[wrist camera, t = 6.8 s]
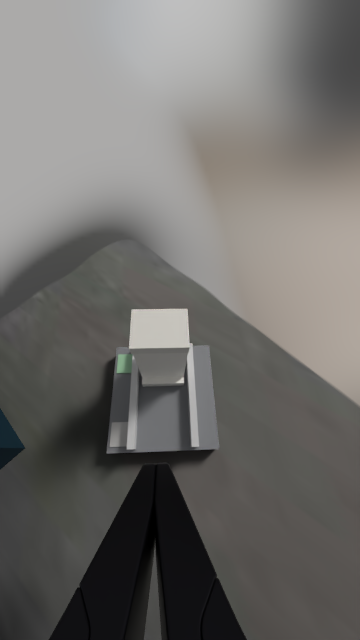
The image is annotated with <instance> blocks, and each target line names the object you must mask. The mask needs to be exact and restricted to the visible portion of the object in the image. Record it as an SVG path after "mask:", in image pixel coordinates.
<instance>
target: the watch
mask: <svg viewBox="0 0 360 640" xmlns="http://www.w3.org/2000/svg"><path fill="white" fill-rule="evenodd" d="M23 449H25V447H24V445H23V444H22V442H21V441H20V439H19V438H18V436H17V434H16V433H15V431H14V430H13V428H12V426H11V425H10V423H9V422H8V420H7V418H6V417H5V415H4V414H3V412H2V411H1V409H0V469H1V468H3V467H4V466H5V465H6V464H7V463H8V462H10V461H11V460H12V459H13V458H14V457H15V456H17V455H18V454H19V453H20V452H21V451H22V450H23Z"/></svg>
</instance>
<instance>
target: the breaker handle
mask: <svg viewBox="0 0 360 640" xmlns="http://www.w3.org/2000/svg"><path fill="white" fill-rule="evenodd" d="M189 348H190V345H189V328H188V311H187V309H135V310H132V314H131V328H130V342H129V350H130V352H131V354H133V356H134V358H135V361H136V363H137V366H138V368H139V371H140V373H141V376H142V385H143V387H145V386H181V385H184V372H185V366H186V360H187V355H188V353H189Z"/></svg>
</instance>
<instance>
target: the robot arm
mask: <svg viewBox="0 0 360 640" xmlns="http://www.w3.org/2000/svg"><path fill="white" fill-rule="evenodd" d="M155 547H156V564H157V578H158V593H159V607H160V622H161V636H162V640H247V639H246V637H245V635H244V633H243V631H242V629H241V627H240V625H239V623H238V621H237V619H236V617H235V614H234V612H233V610H232V608H231V606H230V603H229V601H228V599H227V597H226V595H225V592H224V590H223V588H222V585H221V583H220V581H219V579H218V578H217V574H216V572H215V570H214V567H213V565H212V563H211V560H210V558H209V556H208V553H207V551H206V549H205V546H204V544H203V542H202V539H201V537H200V535H199V532H198V530H197V528H196V525H195V523H194V521H193V518H192V516H191V514H190V511H189V509H188V507H187V504H186V502H185V500H184V498H183V495H182V493H181V491H180V488H179V486H178V484H177V481H176V479H175V477H174V474H173V472H172V470H171V467H170V465H169V464H168V463H157V465H156V464H155V463H145V464H144V465H143V466H142V468H141V470H140V472H139V474H138V475H137V477H136V479H135V481H134V483H133V485H132V487H131V489H130V490H129V492H128V494H127V496H126V498H125V500H124V502H123V504H122V505H121V507H120V509H119V511H118V513H117V515H116V517H115V518H114V520H113V522H112V524H111V526H110V528H109V530H108V532H107V533H106V535H105V537H104V539H103V541H102V543H101V545H100V547H99V548H98V550H97V552H96V554H95V556H94V558H93V560H92V562H91V563H90V565H89V567H88V569H87V571H86V573H85V575H84V577H83V578H82V580H81V582H80V588H79V587H78V588H77V589H76V591H75V593H74V595H73V597H72V599H71V601H70V603H69V604H68V606H67V608H66V610H65V612H64V613H63V615H62V617H61V619H60V621H59V622H58V624H57V626H56V628H55V630H54V631H53V633H52V635H51V637H50V638H49V640H144V632H145V624H146V615H147V607H148V599H149V590H150V582H151V574H152V566H153V557H154V548H155Z"/></svg>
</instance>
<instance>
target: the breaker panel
mask: <svg viewBox="0 0 360 640" xmlns="http://www.w3.org/2000/svg"><path fill="white" fill-rule="evenodd" d="M189 345H190V348H189V353H188V355H187V360H186V366H185V372H184V385H181V386H145V387H143V385H142V376H141V373H140V371H139V368H138V366H137V363H136V361H135V358H134V356H133V354H131V352H130V350H129V347H117V351H116V362H115V372H114V382H113V392H112V402H111V412H110V422H109V432H108V442H107V453H106V454H109V453H134V452H159V451H183V450H208V449H219V441H218V431H217V421H216V411H215V401H214V391H213V381H212V371H211V361H210V351H209V345H207V346H193V345H192V343H190V344H189Z"/></svg>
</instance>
